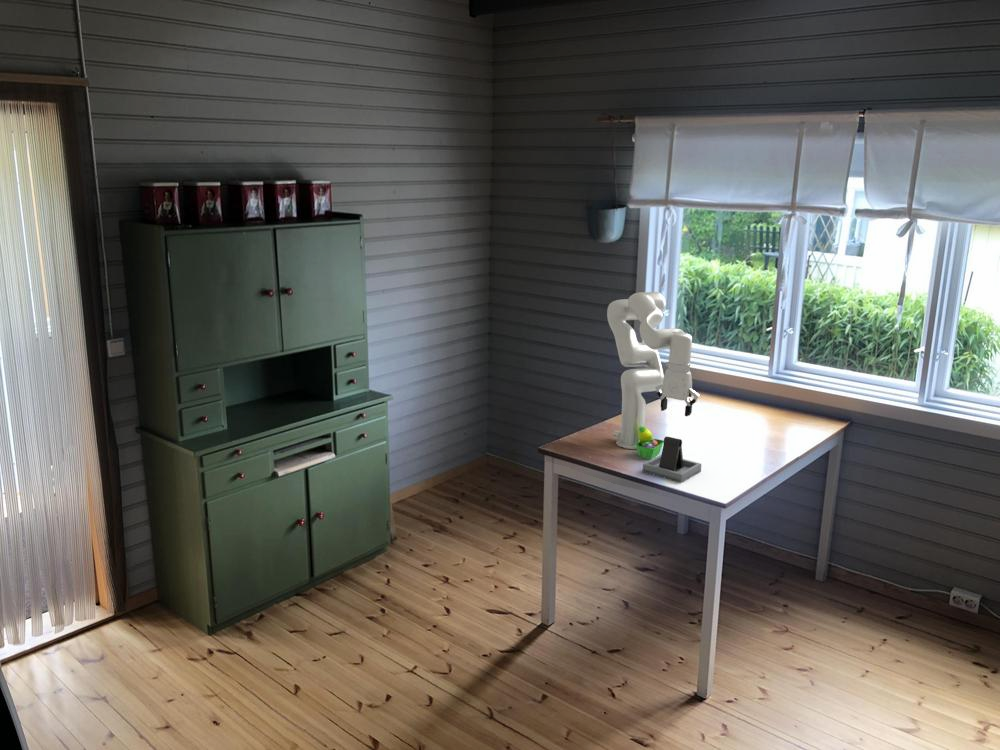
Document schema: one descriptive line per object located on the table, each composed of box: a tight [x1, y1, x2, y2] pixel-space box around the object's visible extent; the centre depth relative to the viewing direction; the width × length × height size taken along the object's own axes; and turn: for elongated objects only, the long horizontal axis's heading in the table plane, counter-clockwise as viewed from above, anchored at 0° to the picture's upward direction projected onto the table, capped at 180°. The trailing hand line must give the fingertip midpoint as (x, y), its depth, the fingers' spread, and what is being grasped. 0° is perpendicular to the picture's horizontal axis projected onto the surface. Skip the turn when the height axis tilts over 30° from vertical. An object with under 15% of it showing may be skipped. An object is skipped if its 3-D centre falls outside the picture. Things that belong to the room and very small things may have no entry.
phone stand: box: [659, 436, 684, 472], centre depth 296 cm, size 9×6×12 cm, turn 143°
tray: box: [642, 454, 702, 483], centre depth 297 cm, size 16×15×3 cm
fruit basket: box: [636, 426, 664, 460], centre depth 313 cm, size 11×9×11 cm
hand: (675, 412), depth 292 cm, fingers open, 9 cm apart
